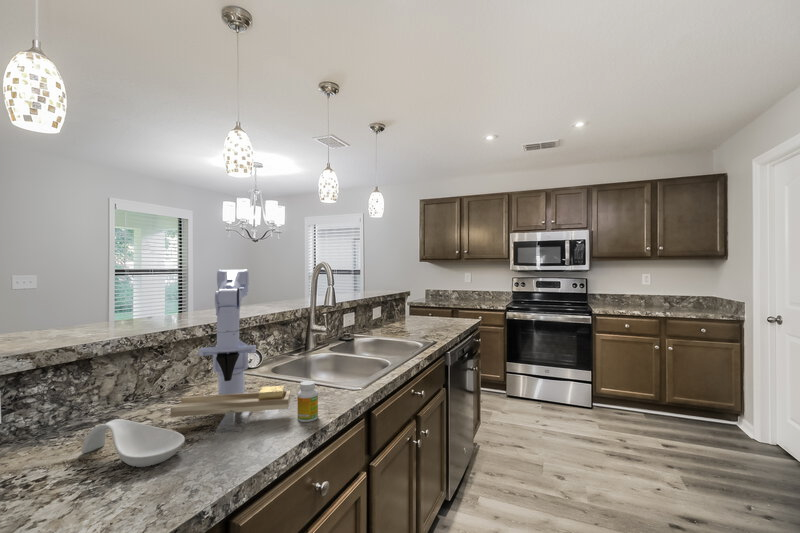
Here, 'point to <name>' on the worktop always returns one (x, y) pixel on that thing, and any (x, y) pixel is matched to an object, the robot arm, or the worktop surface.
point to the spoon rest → (136, 442)
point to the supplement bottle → (307, 402)
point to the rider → (271, 393)
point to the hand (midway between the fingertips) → (228, 380)
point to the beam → (227, 404)
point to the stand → (233, 421)
